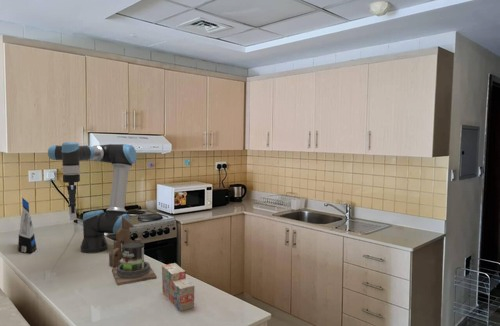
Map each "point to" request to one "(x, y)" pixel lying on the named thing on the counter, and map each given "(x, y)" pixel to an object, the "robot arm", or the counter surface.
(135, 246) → the coffee can
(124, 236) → the wooden toy
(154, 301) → the counter surface
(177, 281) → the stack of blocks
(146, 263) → the jig
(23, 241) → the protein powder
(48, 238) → the counter surface
